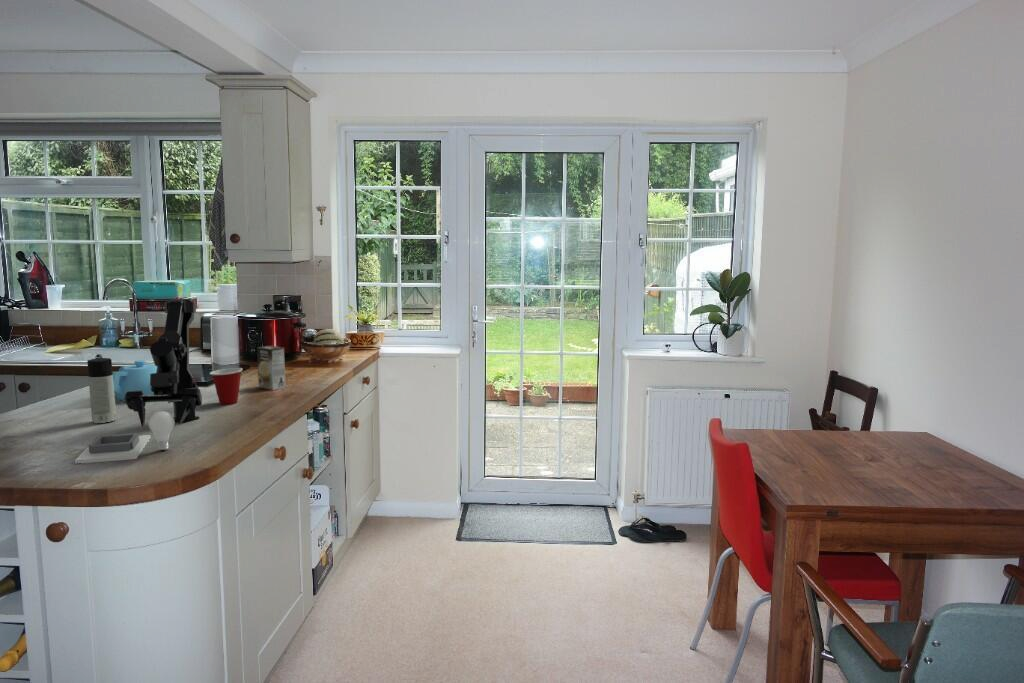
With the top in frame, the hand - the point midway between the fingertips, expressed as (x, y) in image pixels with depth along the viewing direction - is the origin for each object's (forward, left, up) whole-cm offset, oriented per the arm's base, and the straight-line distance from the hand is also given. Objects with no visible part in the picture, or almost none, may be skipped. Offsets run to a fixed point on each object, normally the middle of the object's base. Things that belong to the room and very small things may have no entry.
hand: (161, 424), depth 185 cm
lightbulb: (0, 0, -8) cm, 8 cm away
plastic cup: (-33, +45, -8) cm, 57 cm away
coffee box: (-41, +71, -8) cm, 83 cm away
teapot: (-66, +34, -8) cm, 75 cm away
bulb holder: (-11, -7, -7) cm, 15 cm away
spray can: (-44, +8, -8) cm, 46 cm away
